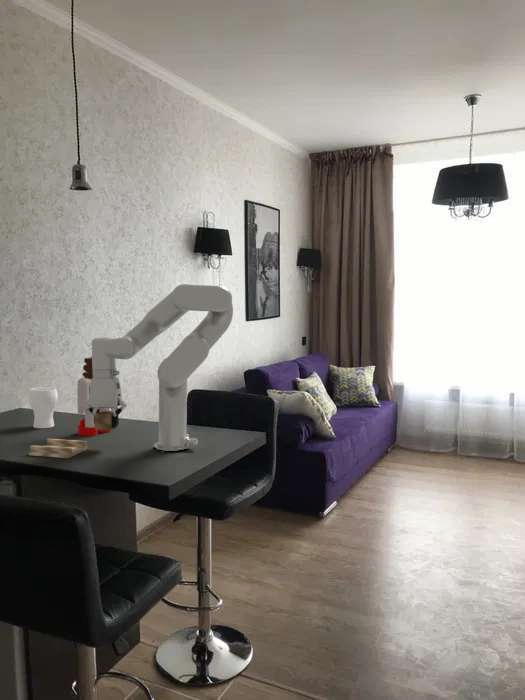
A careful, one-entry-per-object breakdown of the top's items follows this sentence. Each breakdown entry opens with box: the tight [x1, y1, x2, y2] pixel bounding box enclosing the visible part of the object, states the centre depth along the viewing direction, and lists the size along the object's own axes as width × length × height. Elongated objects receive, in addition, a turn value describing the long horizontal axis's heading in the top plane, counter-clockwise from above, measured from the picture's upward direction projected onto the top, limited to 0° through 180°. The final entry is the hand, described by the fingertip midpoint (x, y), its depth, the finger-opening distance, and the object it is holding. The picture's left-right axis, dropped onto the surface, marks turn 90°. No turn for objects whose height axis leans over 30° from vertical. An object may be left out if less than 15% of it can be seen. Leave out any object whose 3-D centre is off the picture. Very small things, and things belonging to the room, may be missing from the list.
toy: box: [76, 355, 112, 437], centre depth 215 cm, size 18×9×30 cm, turn 149°
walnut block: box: [95, 410, 115, 431], centre depth 192 cm, size 6×6×6 cm
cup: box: [28, 386, 59, 429], centre depth 224 cm, size 11×11×15 cm
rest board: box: [28, 438, 88, 459], centre depth 187 cm, size 14×12×3 cm
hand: (106, 426), depth 192 cm, fingers closed on walnut block, 5 cm apart
